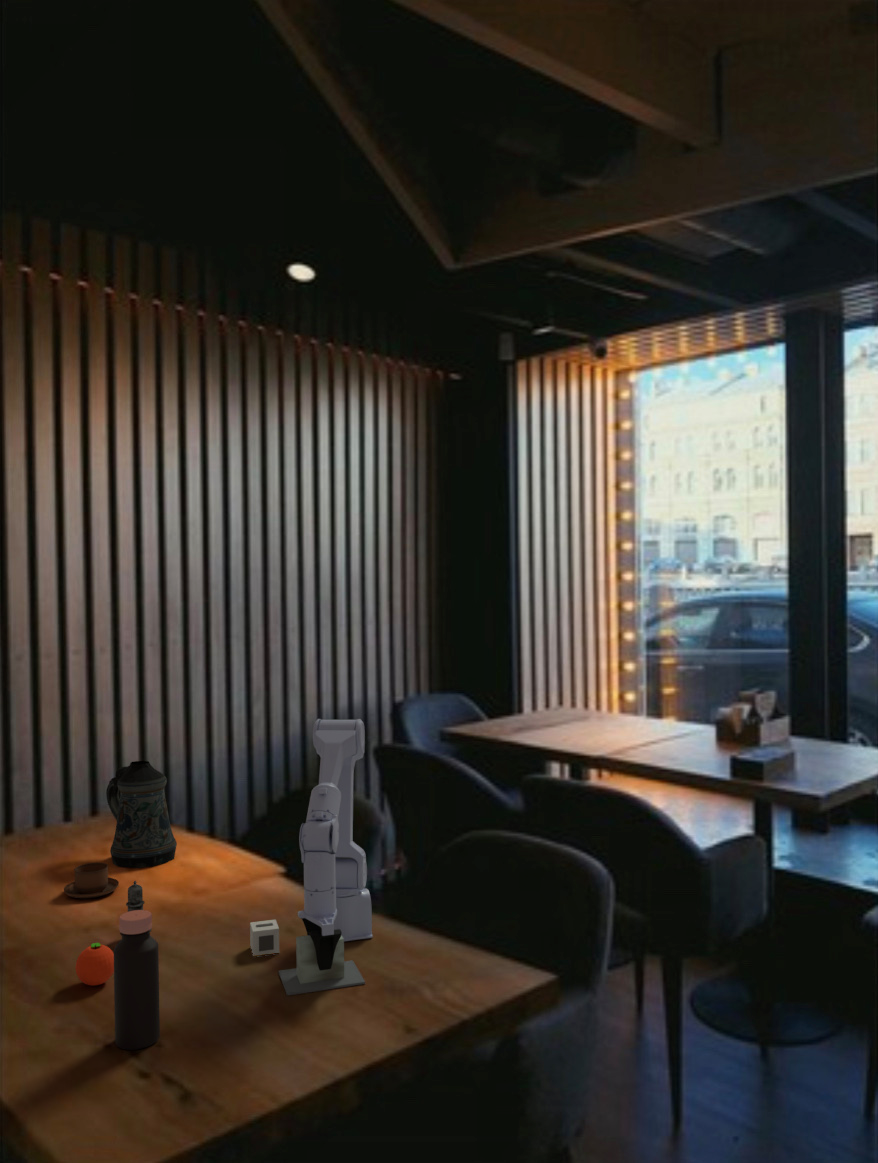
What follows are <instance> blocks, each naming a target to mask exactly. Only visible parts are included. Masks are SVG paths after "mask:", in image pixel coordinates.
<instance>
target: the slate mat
mask: <svg viewBox="0 0 878 1163" xmlns="http://www.w3.org/2000/svg"><path fill="white" fill-rule="evenodd" d="M278 975H279V978H280V980H281V983H282V985H283V988H284V991H285V993H286V996H293V995H300V994H308V993H312V992H320V991H329V990H335V989H339V988H347V987H354V986H355V987H356V986H361V985H365V984H366V981H365V979H364V978H363V975H362V973H361V972H360V970H359V968H358V967H357V965H356V963H355V962H354V960H344V978H337V979H331V980H324V981H317V982H310V983H303V984H300V982H299V979H298V977H297V967H296V968H287V969H280V970H278Z"/></svg>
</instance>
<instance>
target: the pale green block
mask: <svg viewBox="0 0 878 1163" xmlns="http://www.w3.org/2000/svg"><path fill="white" fill-rule="evenodd" d="M295 940H296V941H295V942H296V947H295V952H296V953H295V954H296V955H295V956H296V968H297V977H298V979H299V982H300V984H303V983H310V982H317V981H324V980H331V979H337V978H344V961H345V941H344V939H343V937H342V935H341V937H340V939H339V941H338V943H337V946H336V949H335V953H334V958H333V963H332V967H331V969H328V970H321V971H320V970H319V967H318V963H317V957H316V951H315V947H314V943H313V941H312V939H311V937H310V935H307V934H306V935H301V936H295Z"/></svg>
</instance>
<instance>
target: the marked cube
mask: <svg viewBox="0 0 878 1163" xmlns="http://www.w3.org/2000/svg"><path fill="white" fill-rule="evenodd" d="M249 932H250V934H249V937H250V940H249V941H250V942H249V943H250V945H249V946H251V947H250V950H251V949H252V951H251V954H252V953H253V954H252V957H253V956H254V955H262V954H271V953H279V954H280V928H279V925H278V922H277V919H269V920H261V921H259V920H258V921H252V922H251V921H250V923H249Z"/></svg>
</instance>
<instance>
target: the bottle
mask: <svg viewBox="0 0 878 1163" xmlns="http://www.w3.org/2000/svg"><path fill="white" fill-rule="evenodd" d="M118 917H119V919H118V920H119V922H118V925H119V934H120V937H121V939H120V941H119V942H118V943H117V944H116V945H115V947H114V949H113V953H114V973H113V989H114V991H113V992H114V994H113V995H114V1043H115V1044H116V1046H117V1047H118V1048H120V1049H123V1050H126V1051H135V1050H141V1049H145V1048H148V1047H150V1046H152V1045H154V1044H155V1043H157V1041H158V1040H159V1038H160V1032H161V1030H160V1026H161V1025H160V1021H161V1020H160V1016H161V1015H160V967H159V966H160V965H159V964H160V962H159V960H160V959H159V955H160V954H159V943H158V941H157V940H156V939H155V938H154V937H153V936H152V935H151V932H152V927H153V913H152V912H151V911H149V910H146V909H145V910H144V909H143V910H134V911H129V912H128V911H126V912H124V913H122V914H121V915H120V916H118Z"/></svg>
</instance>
